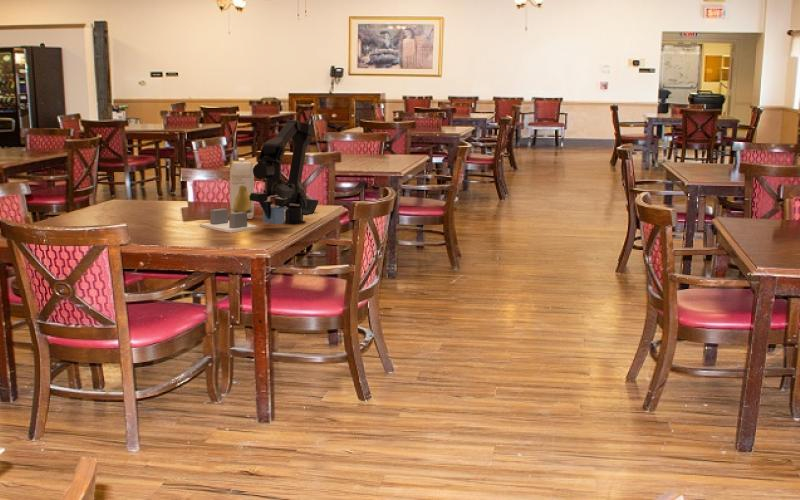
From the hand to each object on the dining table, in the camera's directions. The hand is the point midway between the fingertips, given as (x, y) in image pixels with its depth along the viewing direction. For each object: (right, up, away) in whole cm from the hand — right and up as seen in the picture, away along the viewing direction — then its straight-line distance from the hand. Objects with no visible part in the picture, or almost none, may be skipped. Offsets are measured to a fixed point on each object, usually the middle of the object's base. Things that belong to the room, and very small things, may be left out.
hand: (273, 218), depth 328 cm
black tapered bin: (+6, +3, +41) cm, 42 cm away
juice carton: (-16, +1, +25) cm, 29 cm away
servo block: (0, -2, 0) cm, 2 cm away
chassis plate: (-17, -3, +2) cm, 18 cm away
